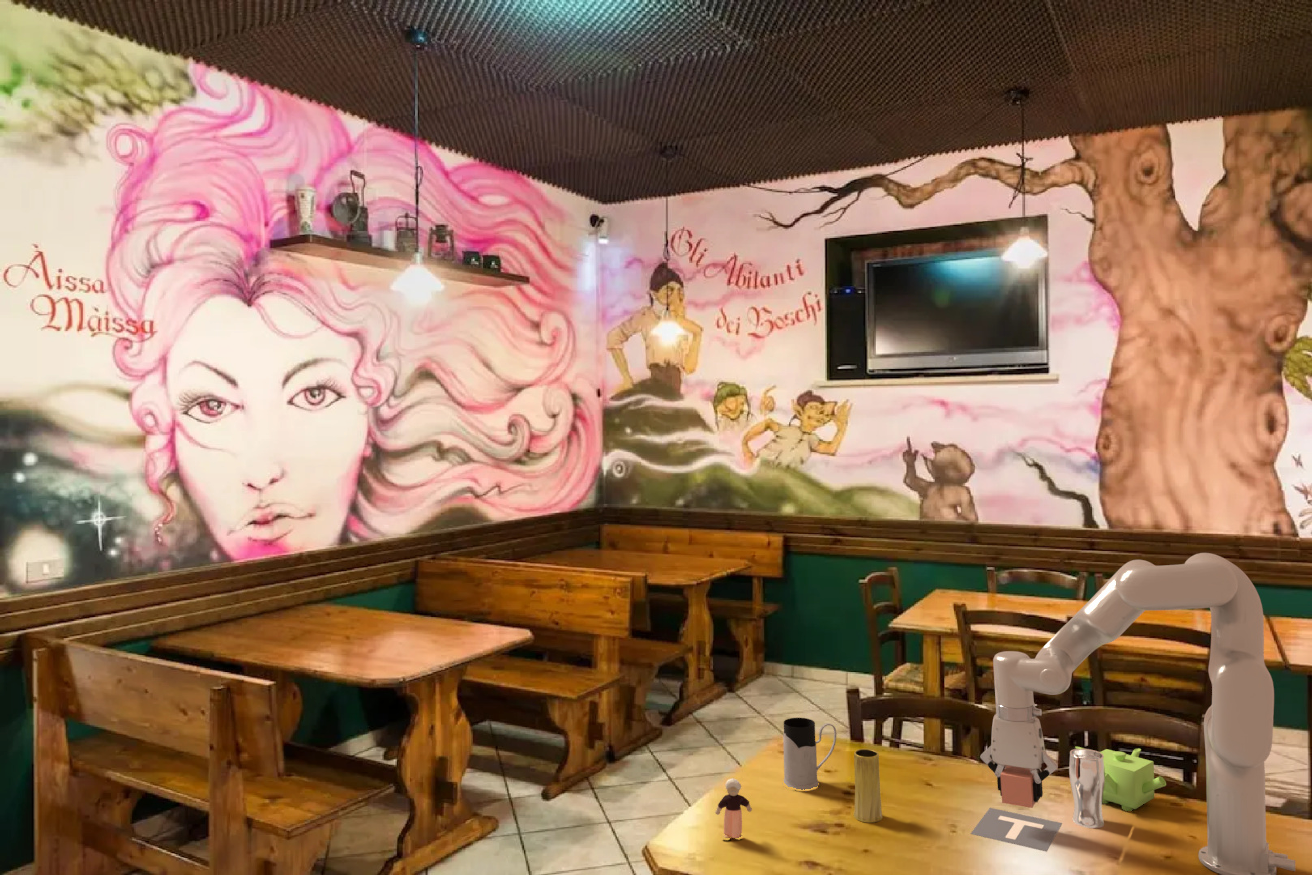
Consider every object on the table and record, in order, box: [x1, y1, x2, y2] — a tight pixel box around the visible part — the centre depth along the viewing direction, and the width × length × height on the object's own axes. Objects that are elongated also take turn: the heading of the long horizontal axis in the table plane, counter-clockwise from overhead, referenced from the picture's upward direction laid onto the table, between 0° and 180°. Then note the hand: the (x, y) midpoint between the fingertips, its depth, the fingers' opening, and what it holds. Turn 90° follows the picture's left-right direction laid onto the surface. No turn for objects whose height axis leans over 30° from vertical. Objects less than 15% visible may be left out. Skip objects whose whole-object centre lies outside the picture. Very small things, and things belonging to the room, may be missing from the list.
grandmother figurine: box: [714, 777, 753, 839], centre depth 192 cm, size 8×4×13 cm, turn 105°
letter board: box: [970, 807, 1063, 852], centre depth 192 cm, size 15×15×1 cm
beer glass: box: [1068, 748, 1105, 829], centre depth 194 cm, size 7×7×15 cm
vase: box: [853, 748, 883, 824], centre depth 200 cm, size 6×6×14 cm
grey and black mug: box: [782, 717, 837, 790], centre depth 220 cm, size 9×14×15 cm, turn 107°
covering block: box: [1000, 766, 1037, 809], centre depth 191 cm, size 6×6×6 cm
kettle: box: [1074, 746, 1167, 812], centre depth 204 cm, size 15×14×11 cm
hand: (1020, 796), depth 191 cm, fingers closed on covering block, 6 cm apart
